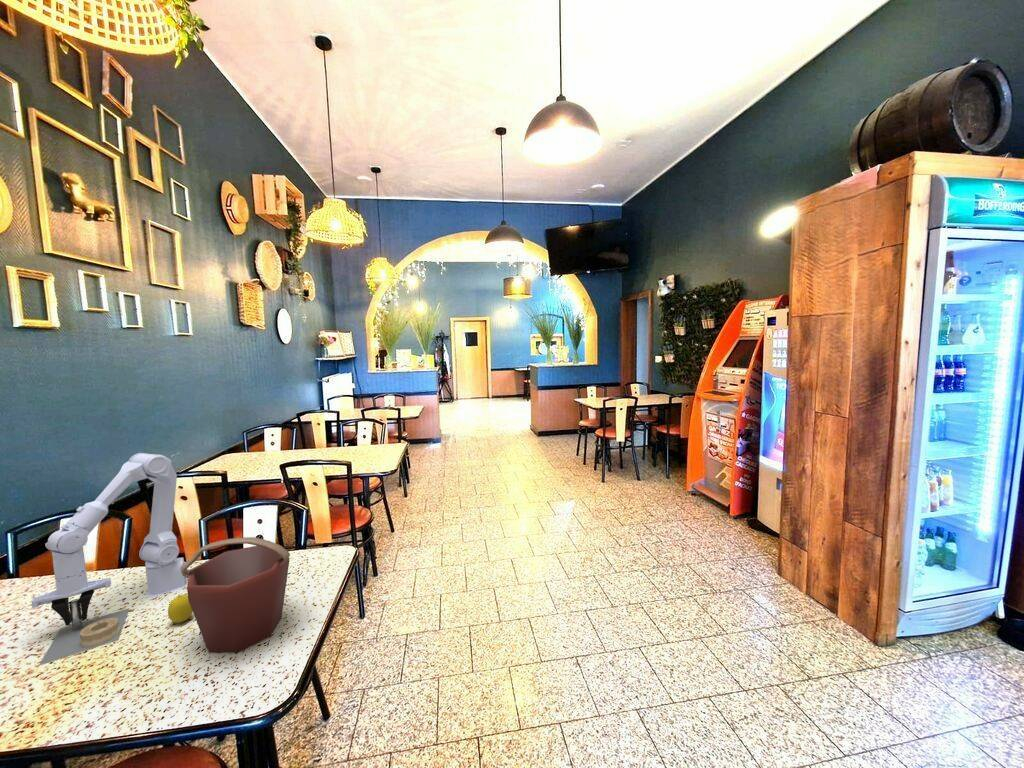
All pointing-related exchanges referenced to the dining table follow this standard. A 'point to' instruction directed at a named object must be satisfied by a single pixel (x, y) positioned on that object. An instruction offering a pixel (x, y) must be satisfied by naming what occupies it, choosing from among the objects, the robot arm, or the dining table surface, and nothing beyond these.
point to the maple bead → (99, 632)
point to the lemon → (179, 609)
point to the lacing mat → (78, 638)
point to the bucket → (238, 593)
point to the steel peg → (75, 615)
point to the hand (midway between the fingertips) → (76, 621)
